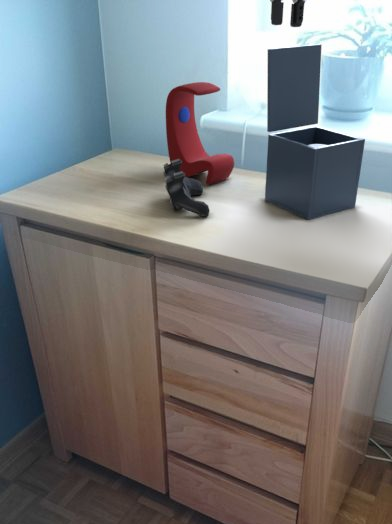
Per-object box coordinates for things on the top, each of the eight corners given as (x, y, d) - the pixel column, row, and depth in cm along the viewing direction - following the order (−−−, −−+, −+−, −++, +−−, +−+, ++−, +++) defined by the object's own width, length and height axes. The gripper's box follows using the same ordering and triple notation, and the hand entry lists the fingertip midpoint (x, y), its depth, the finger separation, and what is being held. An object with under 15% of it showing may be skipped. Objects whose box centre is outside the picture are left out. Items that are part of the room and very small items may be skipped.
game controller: (177, 204, 124) (154, 164, 118) (204, 188, 122) (182, 148, 117) (182, 232, 110) (156, 189, 105) (213, 215, 109) (188, 171, 104)
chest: (355, 207, 113) (365, 139, 106) (307, 219, 108) (315, 149, 100) (310, 189, 123) (316, 125, 115) (264, 200, 118) (268, 134, 110)
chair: (167, 174, 133) (163, 83, 122) (188, 167, 138) (186, 78, 126) (213, 187, 125) (214, 90, 114) (234, 179, 129) (236, 85, 118)
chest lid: (321, 44, 108) (318, 44, 108) (270, 49, 102) (267, 49, 103) (318, 123, 115) (315, 123, 116) (269, 132, 110) (267, 131, 110)
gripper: (251, -85, 100) (247, 24, 109) (304, -93, 89) (295, 29, 99) (284, -84, 103) (277, 22, 112) (339, -91, 93) (327, 27, 102)
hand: (286, 25), depth 106 cm, fingers open, 5 cm apart
